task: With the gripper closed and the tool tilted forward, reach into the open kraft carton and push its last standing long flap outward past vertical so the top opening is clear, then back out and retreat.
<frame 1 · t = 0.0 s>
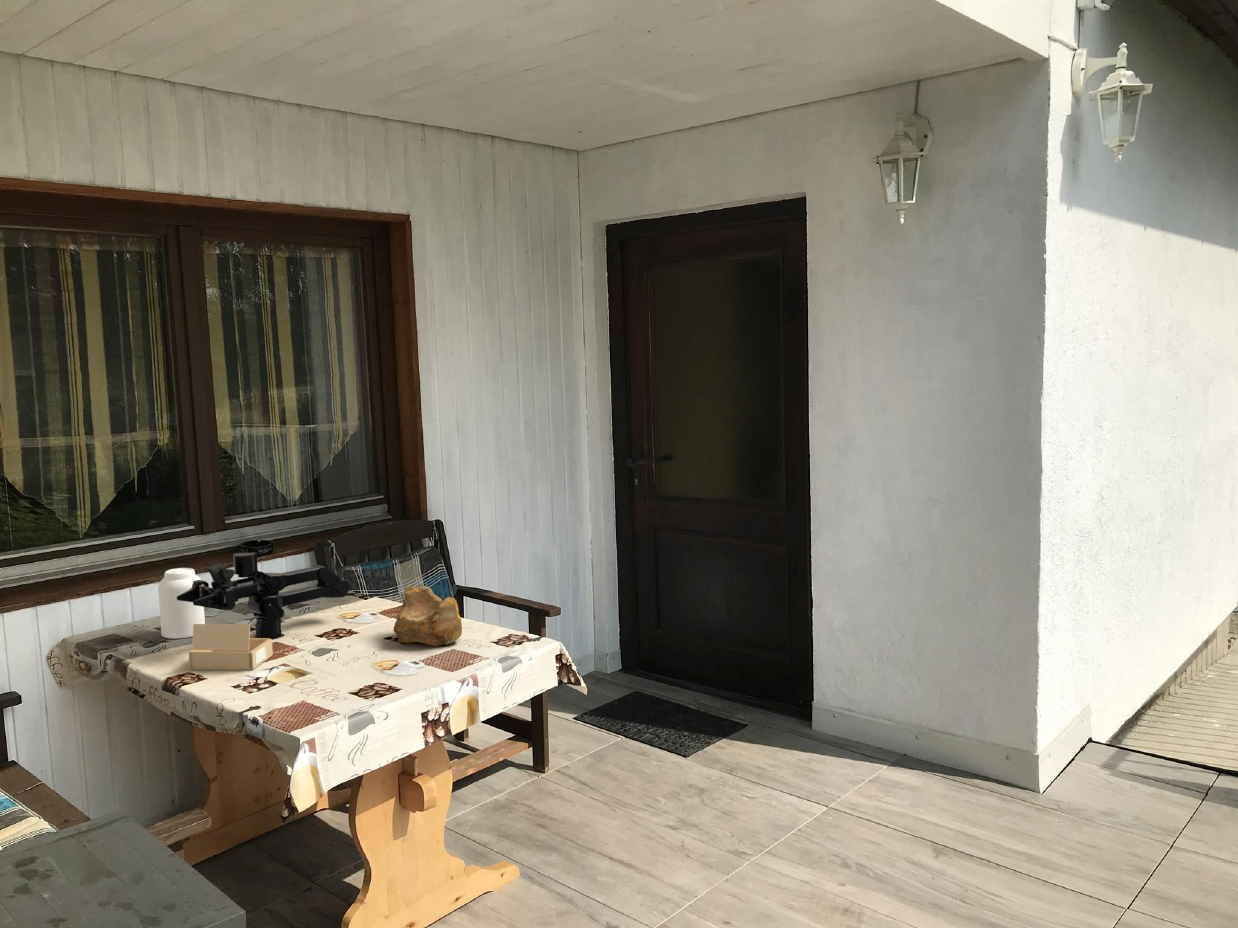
hand: (185, 600, 278), 17 cm above the table, fingers open, 9 cm apart
carton: (232, 662, 275), on the table
white jar: (183, 634, 304), on the table
rough brown rock: (422, 641, 293), on the table
flap: (221, 637, 268), point 9 cm above the table, hinge at -12.0°
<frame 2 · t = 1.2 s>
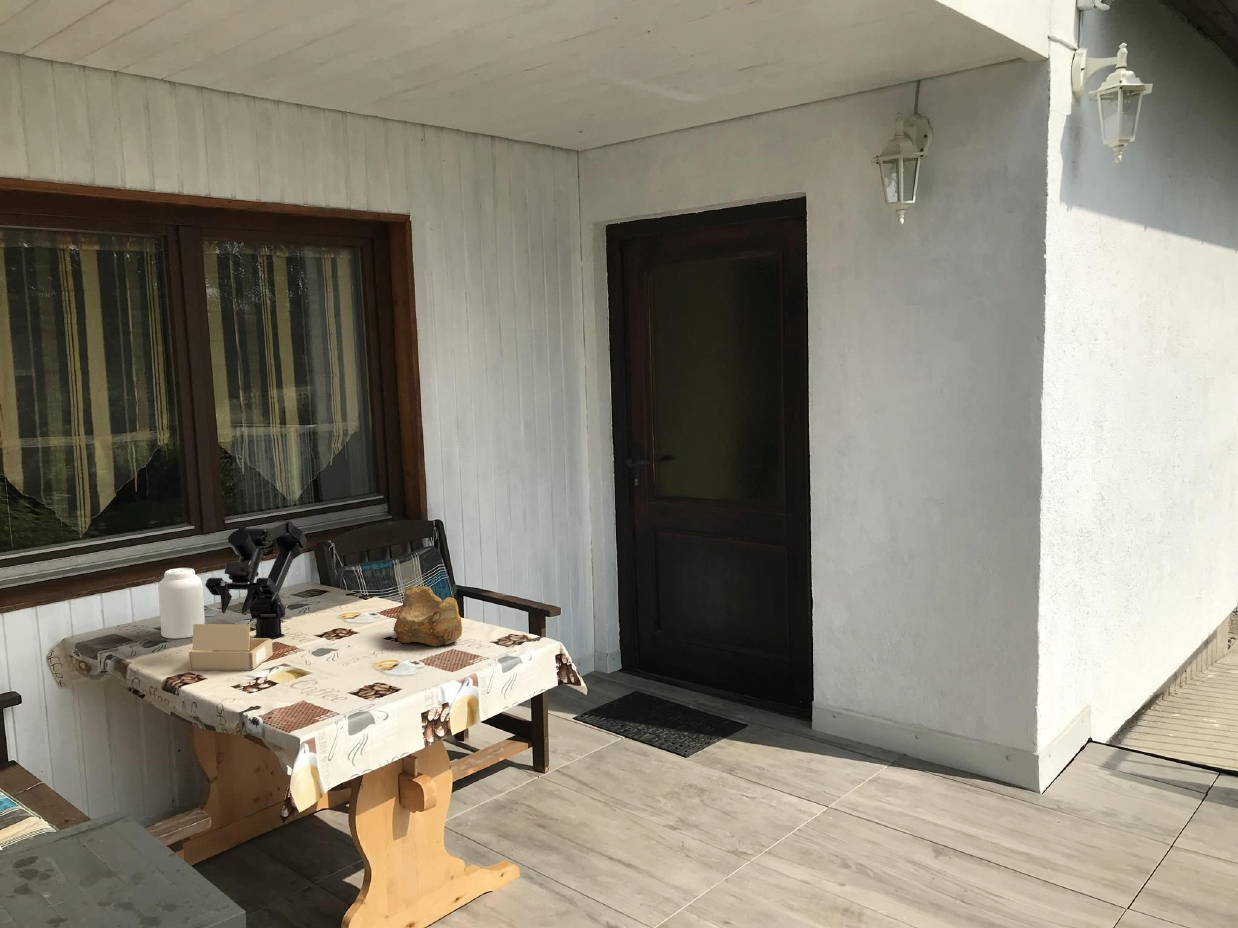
hand: (232, 612, 275), 14 cm above the table, fingers open, 5 cm apart
nothing on the table moved.
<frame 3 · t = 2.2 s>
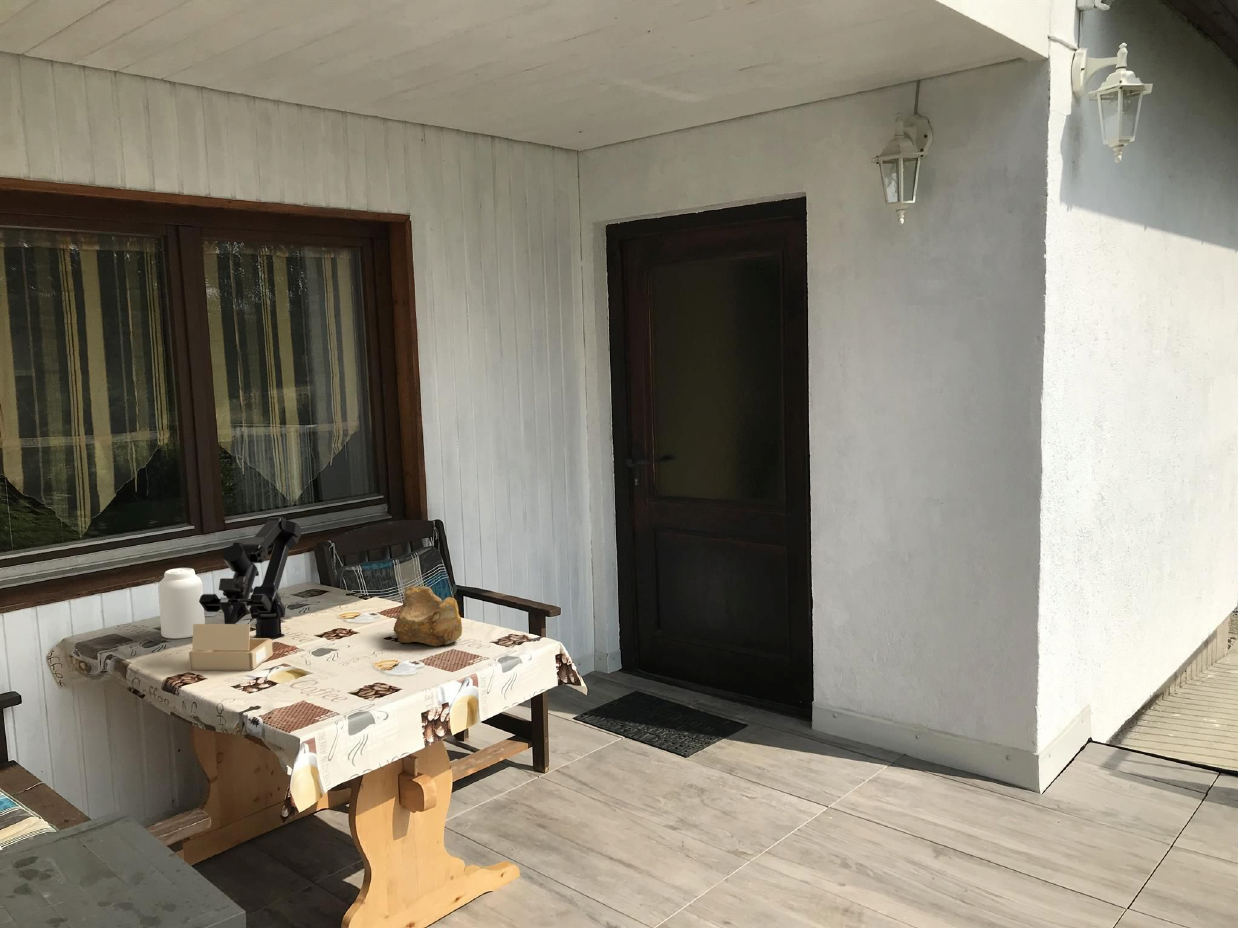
hand: (226, 629, 272), 10 cm above the table, fingers closed
nothing on the table moved.
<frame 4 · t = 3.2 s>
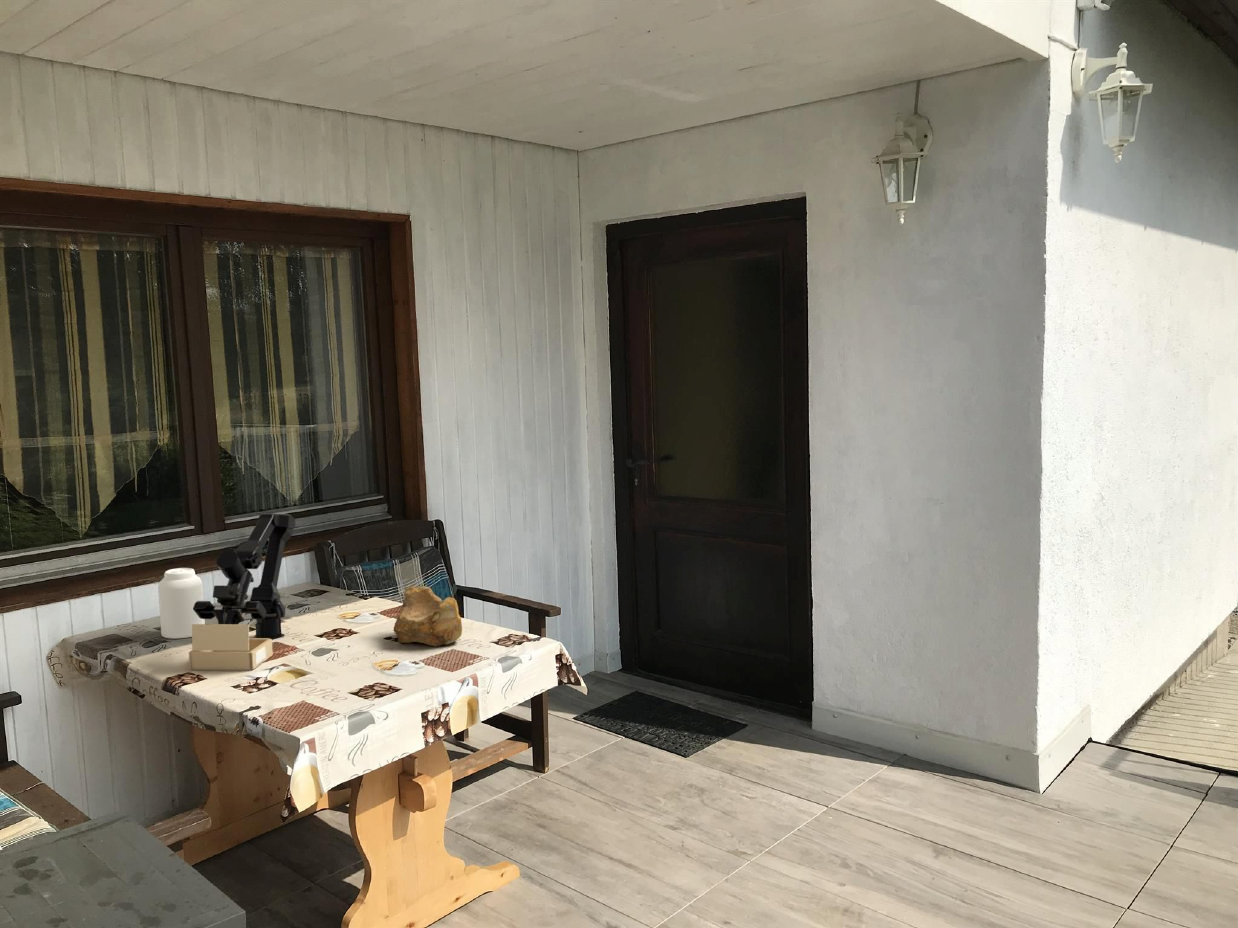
hand: (221, 637, 268), 9 cm above the table, fingers closed, pressing on flap
flap: (220, 637, 268), point 9 cm above the table, hinge at -6.5°, touching gripper
everything else where it was.
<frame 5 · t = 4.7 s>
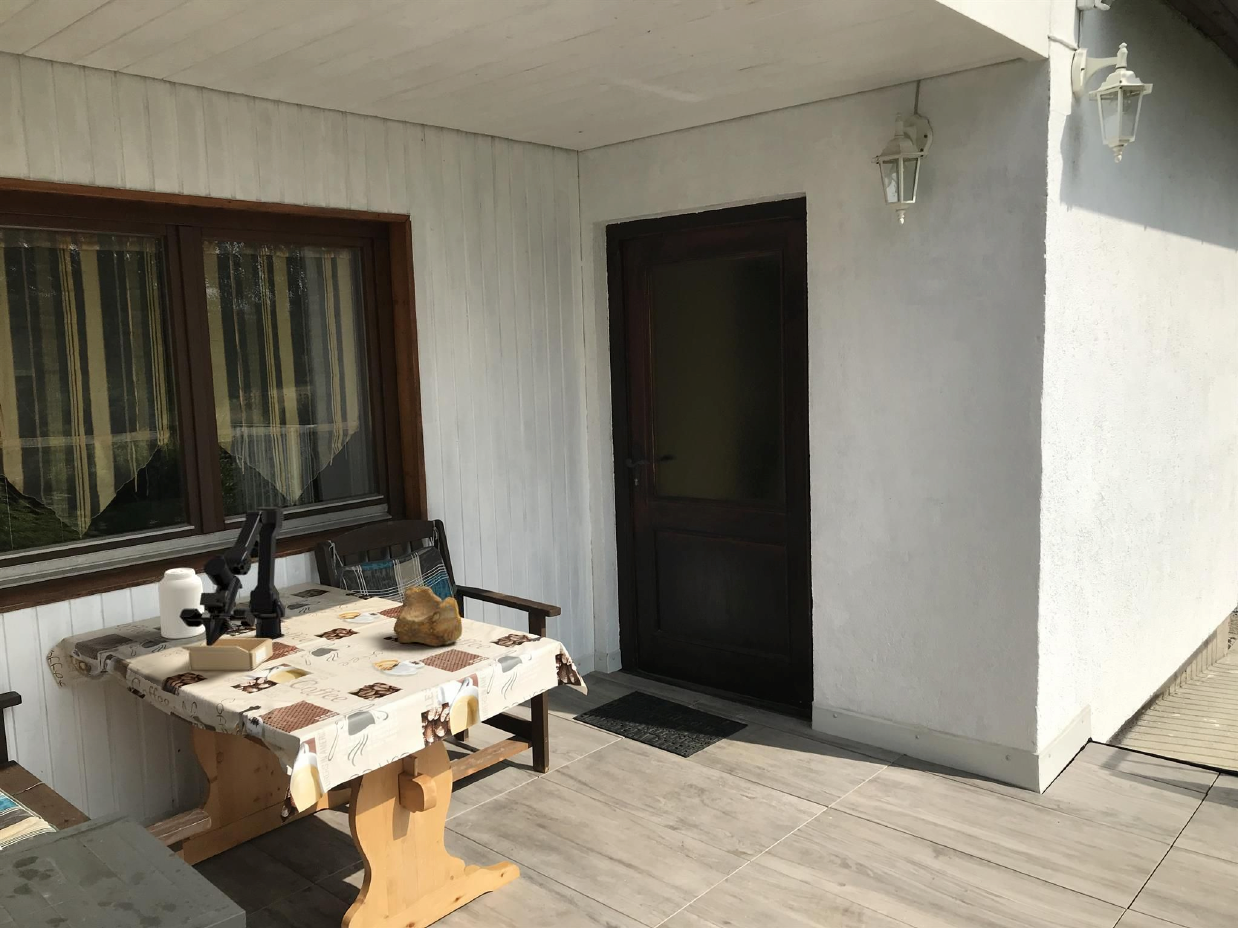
hand: (208, 645, 261), 9 cm above the table, fingers closed, pressing on flap
flap: (214, 648, 264), point 7 cm above the table, hinge at 61.1°, touching gripper
everything else where it was.
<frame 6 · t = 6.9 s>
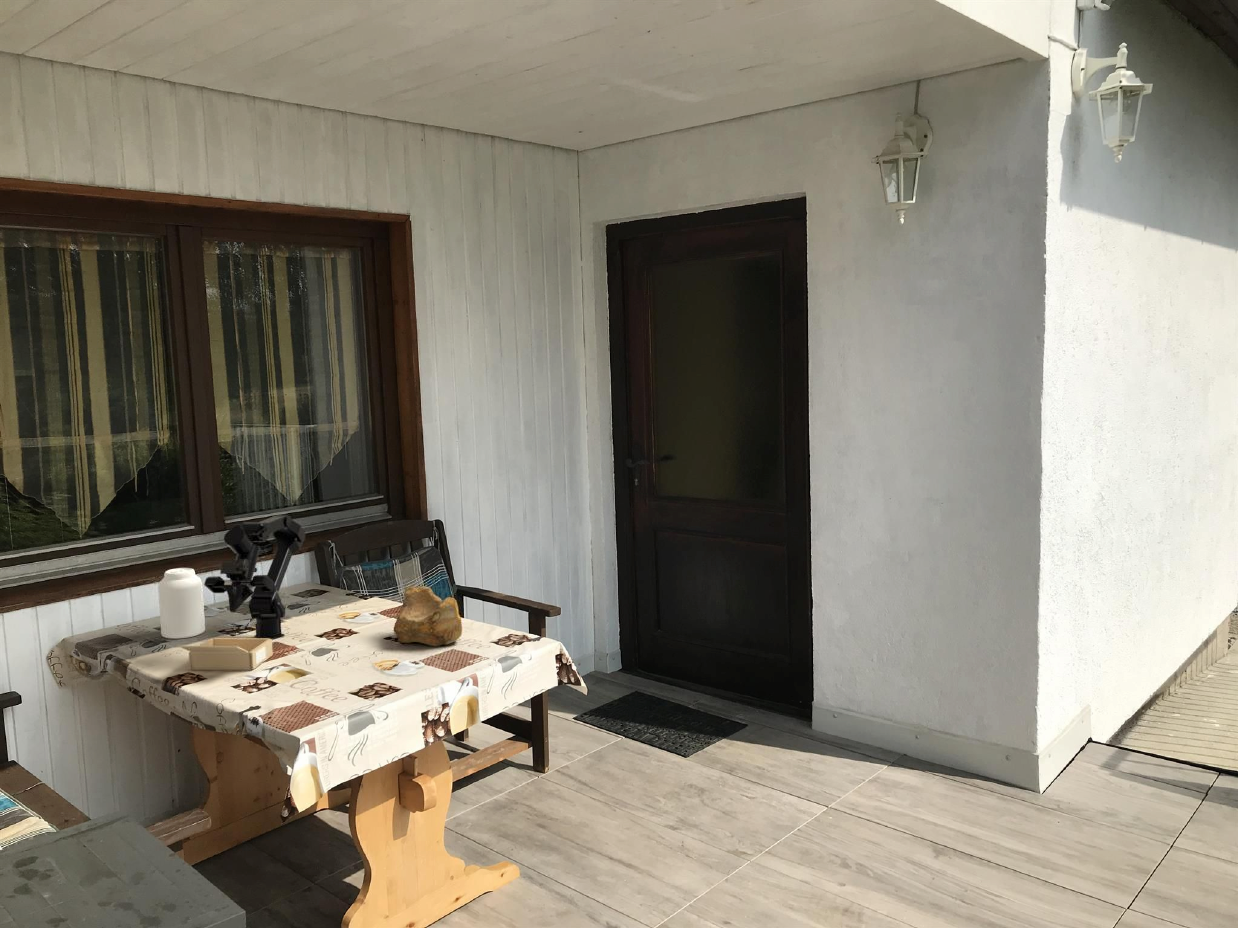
hand: (232, 611, 276), 14 cm above the table, fingers closed
flap: (214, 648, 264), point 7 cm above the table, hinge at 61.2°
everything else where it was.
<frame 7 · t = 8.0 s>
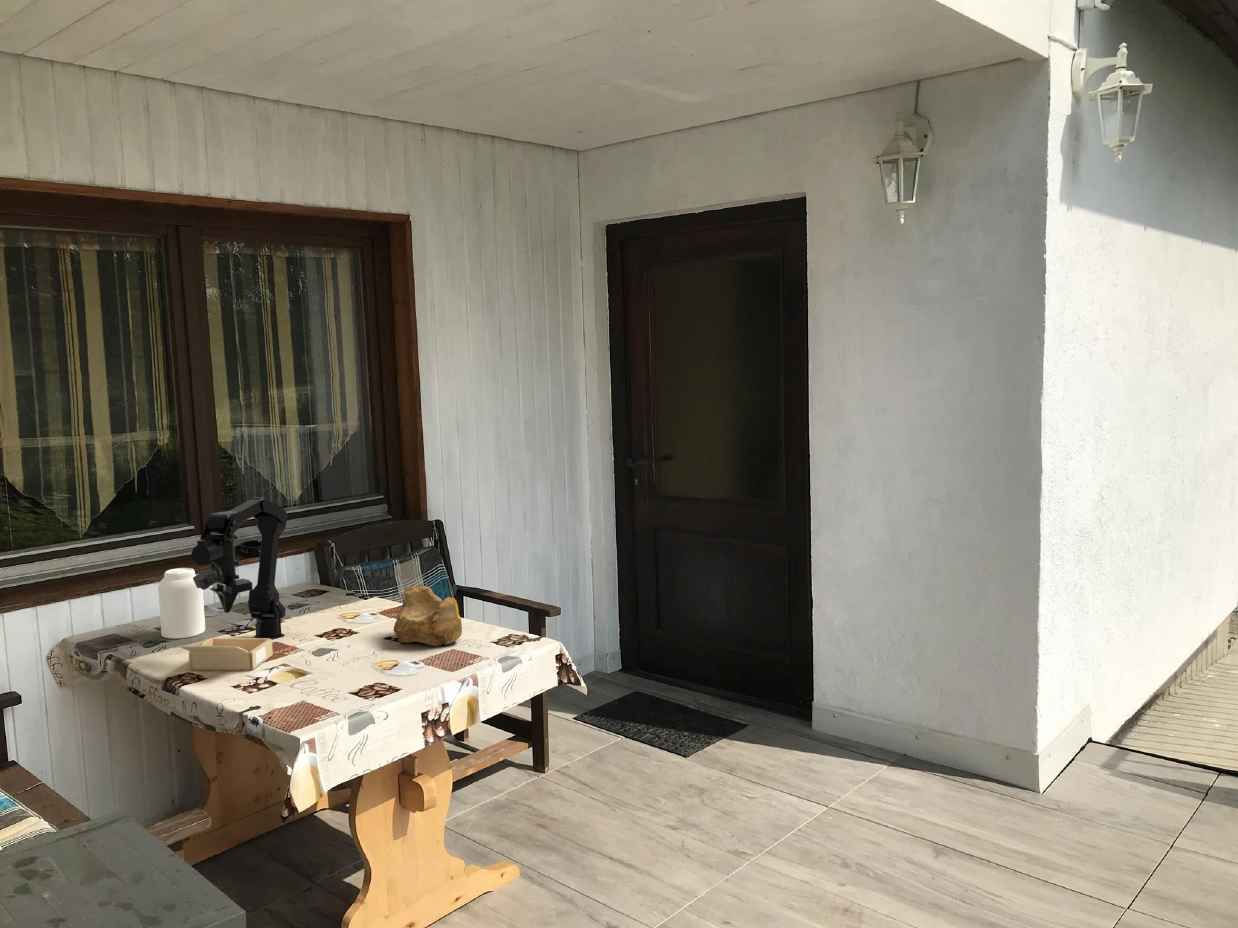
hand: (227, 612, 278), 13 cm above the table, fingers closed
nothing on the table moved.
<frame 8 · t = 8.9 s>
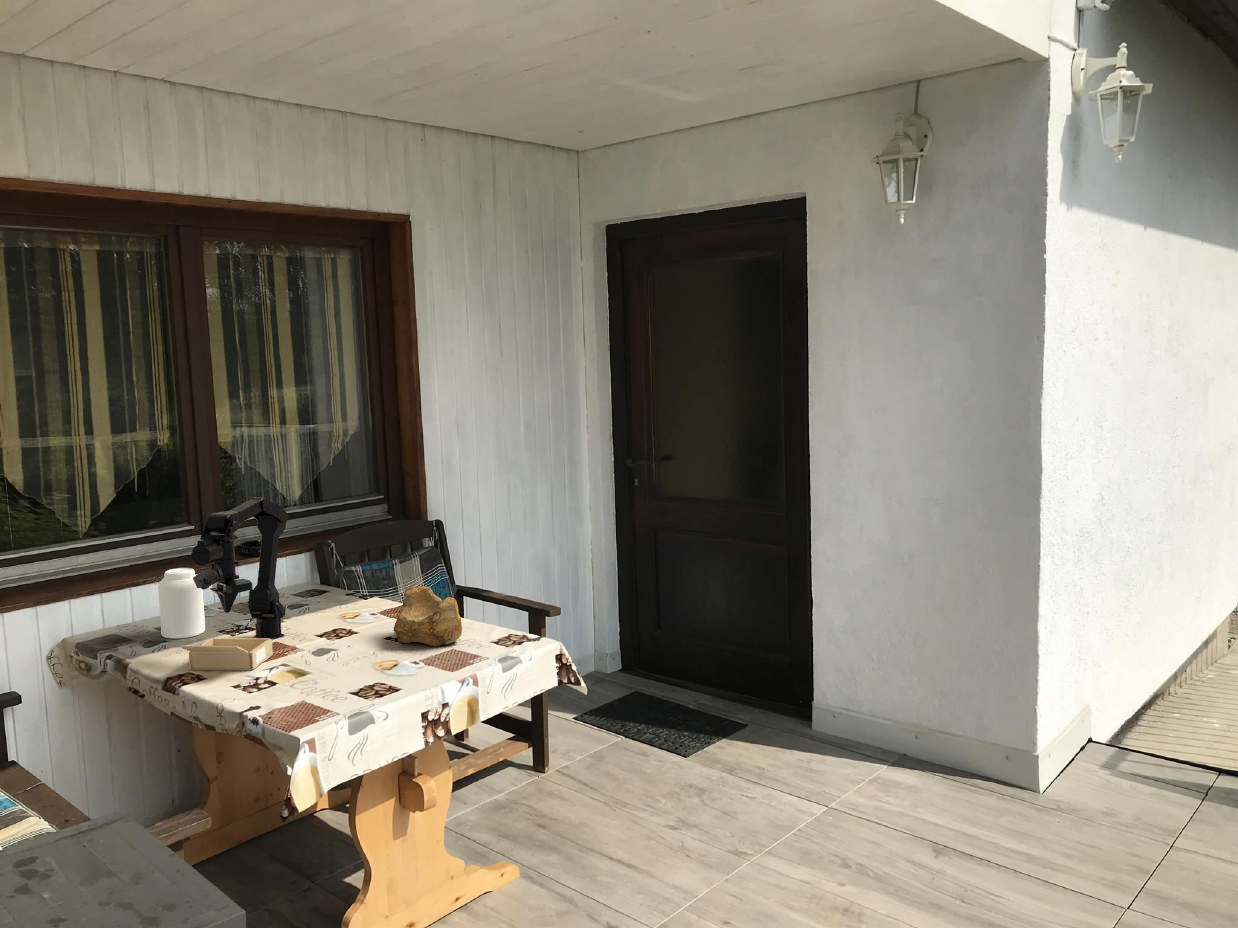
hand: (227, 612, 278), 13 cm above the table, fingers closed
nothing on the table moved.
at the end: flap at +61° (first picture: -12°) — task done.
